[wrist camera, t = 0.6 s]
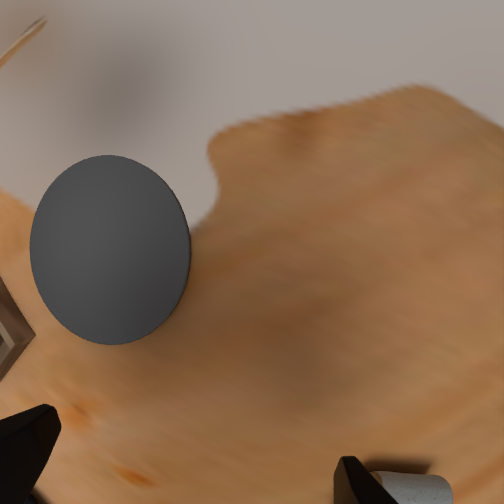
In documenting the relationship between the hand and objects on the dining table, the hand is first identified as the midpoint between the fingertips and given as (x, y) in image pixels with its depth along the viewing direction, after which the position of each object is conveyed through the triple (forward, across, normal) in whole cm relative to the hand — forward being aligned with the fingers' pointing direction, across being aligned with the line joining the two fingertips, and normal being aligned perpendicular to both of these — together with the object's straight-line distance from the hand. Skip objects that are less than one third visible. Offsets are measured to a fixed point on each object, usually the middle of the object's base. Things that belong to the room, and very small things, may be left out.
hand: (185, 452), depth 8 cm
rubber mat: (+15, +10, -2) cm, 18 cm away
